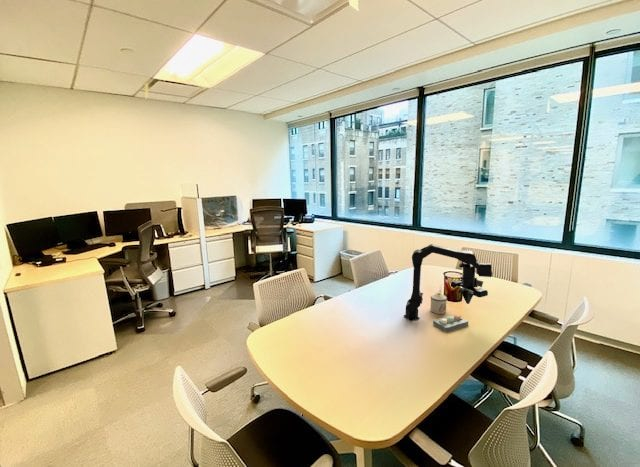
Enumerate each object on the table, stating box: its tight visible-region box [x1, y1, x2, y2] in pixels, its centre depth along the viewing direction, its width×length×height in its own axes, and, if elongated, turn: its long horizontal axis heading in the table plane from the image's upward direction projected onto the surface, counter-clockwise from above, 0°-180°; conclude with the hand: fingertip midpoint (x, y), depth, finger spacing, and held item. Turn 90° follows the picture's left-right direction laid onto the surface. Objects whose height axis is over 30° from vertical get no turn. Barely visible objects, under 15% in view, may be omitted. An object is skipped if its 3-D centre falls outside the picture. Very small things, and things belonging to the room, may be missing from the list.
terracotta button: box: [454, 314, 462, 321], centre depth 162 cm, size 3×3×4 cm
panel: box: [432, 314, 469, 333], centre depth 160 cm, size 16×9×2 cm, turn 113°
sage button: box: [447, 317, 454, 323], centre depth 160 cm, size 3×3×4 cm
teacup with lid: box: [430, 291, 448, 315], centre depth 177 cm, size 12×9×12 cm
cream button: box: [440, 319, 447, 325], centre depth 158 cm, size 3×3×4 cm
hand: (467, 303), depth 156 cm, fingers closed
